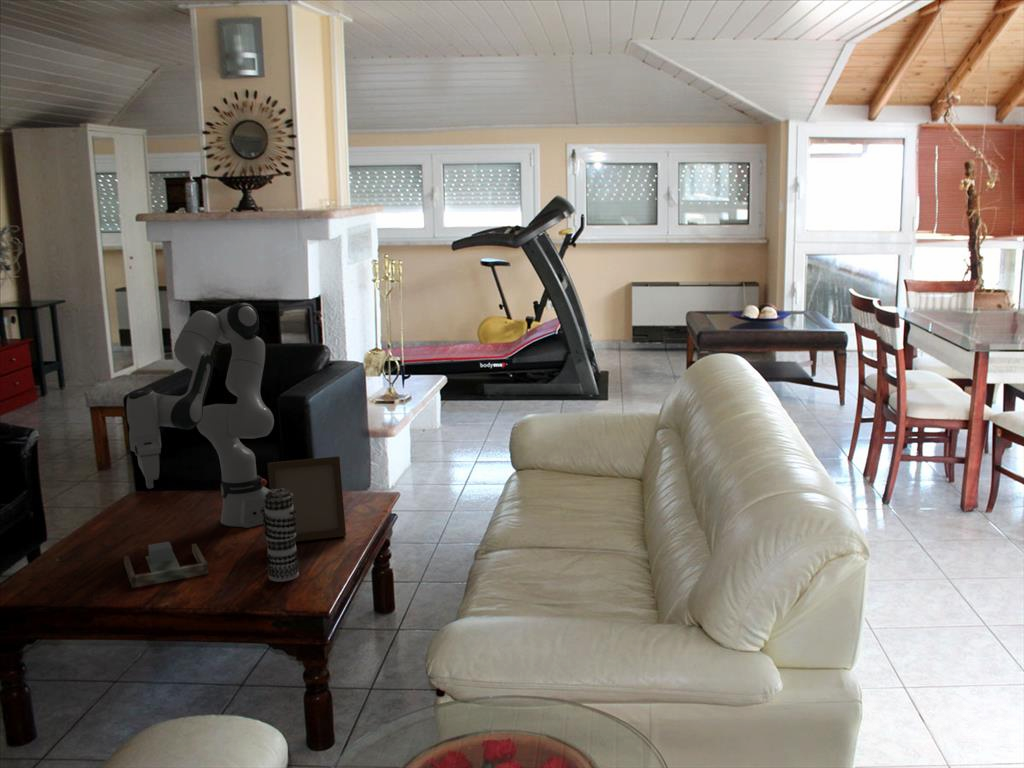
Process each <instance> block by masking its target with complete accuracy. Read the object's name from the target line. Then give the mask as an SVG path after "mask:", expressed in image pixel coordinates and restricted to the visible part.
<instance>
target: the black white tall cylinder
mask: <svg viewBox="0 0 1024 768" xmlns="http://www.w3.org/2000/svg"><path fill="white" fill-rule="evenodd" d="M292 496H293V494H292V493H290V492H289V490H287V489H284V488H277V489H272V490H269V491H268V492H267V494H266V495H265V496H264V497H263V498H264V500H265V507H264V509H265V511H264V512H263V513H262V514H263V517H264V518H263V519H264V520H263V522H264V524H263V529H264V536H265V539H266V541H267V553H266V557H267V559H266V561H267V563H268V564H267V565H266V567H267V573H268V579H269V580H270V581H272V582H278V583H279V582H280V583H281V582H289V581H292V580H295V579H297V578H298V577H299V576H300V573H299V569H300V567H299V564H300V563H299V561H298V559H299V556H298V549H297V545H296V544H297V543H296V542H295V536H296V529H295V528H294V526H295V525H296V524H297V523H296V522H295V521H294V520H296V516H293V514H294V513H296V510H295V509H293V504H292ZM265 514H266V516H265ZM265 520H266V521H265Z"/></svg>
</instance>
